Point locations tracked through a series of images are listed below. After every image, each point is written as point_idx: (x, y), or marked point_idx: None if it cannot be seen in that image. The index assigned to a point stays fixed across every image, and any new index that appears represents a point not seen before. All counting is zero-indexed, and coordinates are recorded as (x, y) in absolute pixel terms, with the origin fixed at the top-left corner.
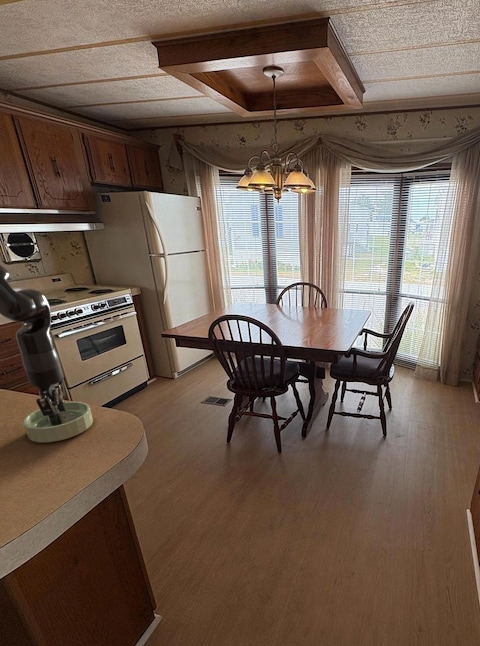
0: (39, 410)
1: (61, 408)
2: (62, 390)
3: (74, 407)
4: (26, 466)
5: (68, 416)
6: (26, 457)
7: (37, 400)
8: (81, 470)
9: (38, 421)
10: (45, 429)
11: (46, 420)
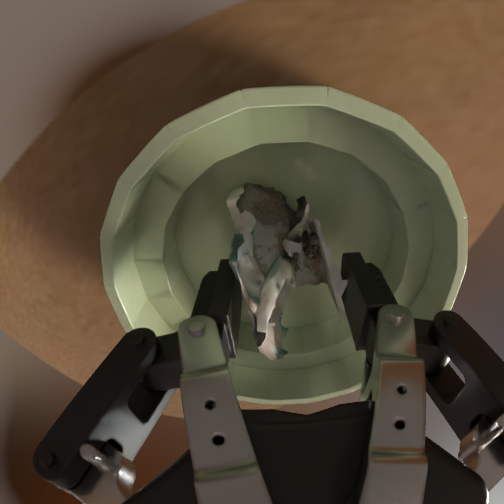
0: (417, 156)
1: (353, 319)
2: (445, 416)
3: (416, 304)
4: (28, 214)
5: (273, 337)
6: (63, 185)
7: (37, 468)
8: (48, 341)
9: (321, 145)
10: (108, 287)
11: (252, 237)
